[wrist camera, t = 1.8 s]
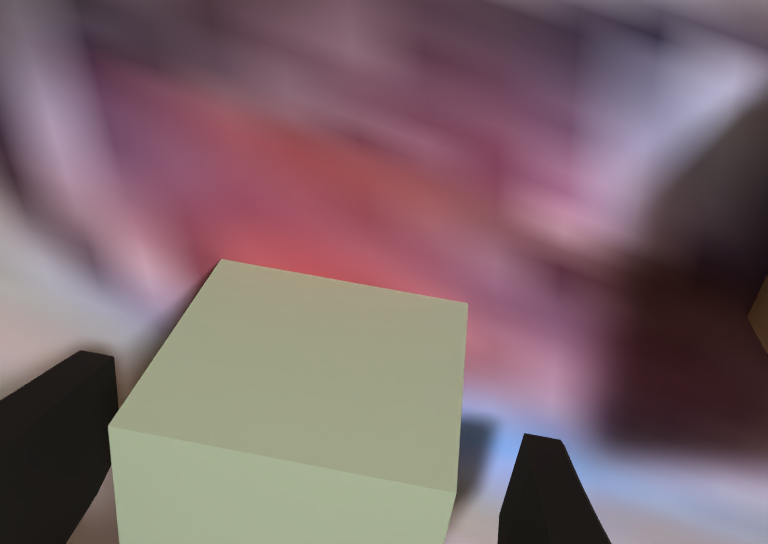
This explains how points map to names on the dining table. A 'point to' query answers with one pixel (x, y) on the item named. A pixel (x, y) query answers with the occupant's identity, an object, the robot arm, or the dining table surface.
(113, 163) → the dining table surface
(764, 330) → the base slab
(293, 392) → the green cube
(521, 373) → the dining table surface
